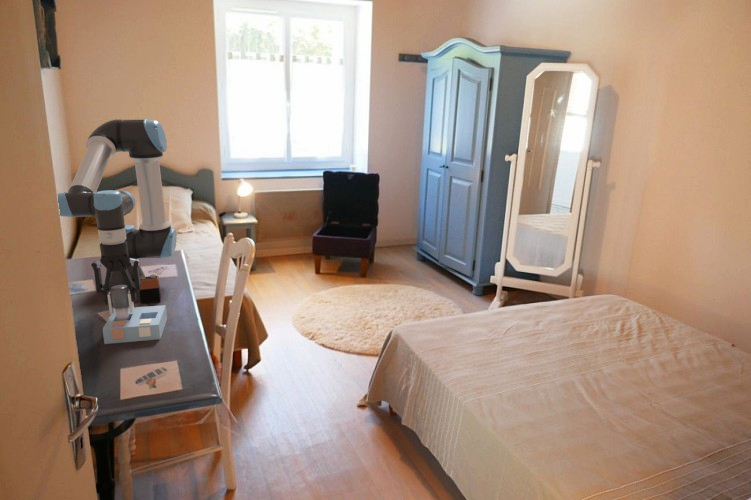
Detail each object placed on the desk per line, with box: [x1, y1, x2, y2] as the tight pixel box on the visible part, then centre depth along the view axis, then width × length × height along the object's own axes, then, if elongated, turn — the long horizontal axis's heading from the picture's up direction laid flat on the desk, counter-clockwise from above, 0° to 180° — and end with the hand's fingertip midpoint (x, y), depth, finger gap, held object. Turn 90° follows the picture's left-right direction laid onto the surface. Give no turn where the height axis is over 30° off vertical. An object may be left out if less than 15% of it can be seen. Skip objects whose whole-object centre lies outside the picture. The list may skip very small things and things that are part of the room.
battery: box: [138, 274, 162, 305], centre depth 191 cm, size 4×7×10 cm, turn 111°
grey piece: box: [109, 285, 129, 321], centre depth 165 cm, size 5×5×12 cm
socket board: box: [102, 304, 168, 345], centre depth 167 cm, size 16×16×5 cm
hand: (122, 311), depth 165 cm, fingers closed on grey piece, 5 cm apart
